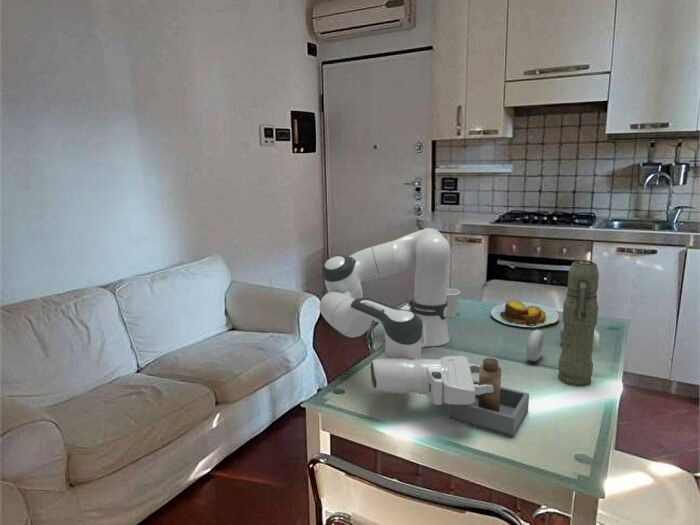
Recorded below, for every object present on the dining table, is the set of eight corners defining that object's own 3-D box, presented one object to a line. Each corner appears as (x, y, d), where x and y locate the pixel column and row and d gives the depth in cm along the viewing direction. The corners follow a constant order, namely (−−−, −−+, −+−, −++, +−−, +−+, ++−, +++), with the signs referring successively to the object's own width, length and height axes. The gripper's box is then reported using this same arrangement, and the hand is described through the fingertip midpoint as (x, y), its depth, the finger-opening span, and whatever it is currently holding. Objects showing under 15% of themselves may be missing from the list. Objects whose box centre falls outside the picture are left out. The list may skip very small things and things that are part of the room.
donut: (535, 367, 152) (537, 336, 150) (524, 364, 154) (526, 334, 152) (544, 355, 160) (546, 326, 158) (533, 353, 162) (535, 324, 160)
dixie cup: (440, 310, 207) (441, 287, 204) (461, 312, 203) (461, 289, 201) (436, 317, 199) (436, 293, 197) (457, 319, 196) (457, 295, 194)
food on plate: (572, 322, 191) (573, 306, 189) (527, 335, 178) (528, 318, 177) (520, 305, 212) (520, 290, 211) (477, 316, 200) (477, 300, 198)
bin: (448, 419, 124) (448, 401, 123) (467, 395, 135) (468, 379, 134) (513, 437, 115) (514, 418, 114) (528, 411, 127) (529, 393, 126)
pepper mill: (475, 414, 125) (477, 362, 121) (481, 405, 129) (483, 355, 126) (495, 419, 122) (498, 367, 119) (501, 410, 126) (504, 359, 123)
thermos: (588, 372, 148) (598, 258, 140) (594, 390, 137) (606, 267, 129) (556, 369, 150) (564, 256, 143) (559, 386, 139) (569, 266, 132)
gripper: (432, 370, 136) (484, 372, 134) (435, 408, 116) (495, 411, 114) (433, 349, 134) (485, 350, 132) (435, 383, 115) (496, 386, 113)
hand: (490, 379), depth 123 cm, fingers open, 8 cm apart
